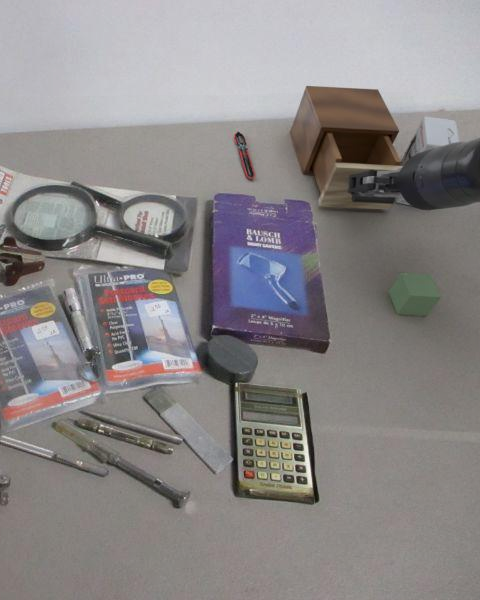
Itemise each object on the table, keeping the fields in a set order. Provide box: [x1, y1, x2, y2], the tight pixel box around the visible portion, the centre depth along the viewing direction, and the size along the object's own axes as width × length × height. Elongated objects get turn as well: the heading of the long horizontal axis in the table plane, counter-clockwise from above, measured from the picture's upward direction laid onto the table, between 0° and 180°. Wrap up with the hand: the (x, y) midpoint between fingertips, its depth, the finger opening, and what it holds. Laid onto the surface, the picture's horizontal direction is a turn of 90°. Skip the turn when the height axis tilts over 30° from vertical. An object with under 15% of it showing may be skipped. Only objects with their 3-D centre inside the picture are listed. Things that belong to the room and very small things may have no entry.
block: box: [388, 272, 442, 317], centre depth 83 cm, size 4×4×4 cm
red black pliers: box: [233, 131, 256, 180], centre depth 106 cm, size 2×14×1 cm, turn 0°
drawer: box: [311, 131, 403, 210], centre depth 96 cm, size 16×11×8 cm
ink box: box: [394, 115, 461, 206], centre depth 97 cm, size 8×5×12 cm, turn 162°
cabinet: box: [289, 85, 400, 176], centre depth 104 cm, size 13×13×10 cm
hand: (382, 189), depth 88 cm, fingers open, 8 cm apart
